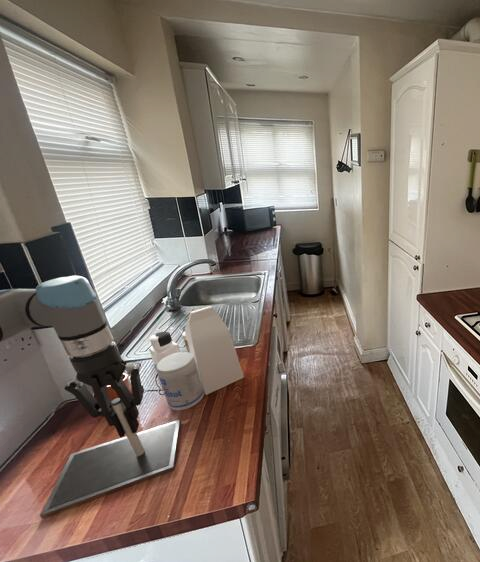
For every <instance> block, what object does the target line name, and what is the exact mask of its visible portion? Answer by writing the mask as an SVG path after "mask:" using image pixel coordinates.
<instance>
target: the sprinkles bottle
mask: <svg viewBox="0 0 480 562" xmlns="http://www.w3.org/2000/svg"><path fill="white" fill-rule="evenodd" d="M181 338H182V340H183V341H184V344H185V348H186V352H189V353H190V349H189V345H188V341H187V337H186V333H185V331H183V332H182V333H181Z"/></svg>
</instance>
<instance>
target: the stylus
mask: <svg viewBox="0 0 480 562" xmlns="http://www.w3.org/2000/svg"><path fill="white" fill-rule="evenodd" d="M111 404H112V406H113V408H112V409H114V410H115V412H116V415H117V417H118V419H119V421H120V423H121V425H122V427H123V429H124V431H125V437H126V436H127V438H128V440H129V442H130V444H131V446H132V448H133V450H134V452H135V455H136V456H140V455H142V454H143V453H144V448H143V446H142V444H141V442H140V440H139V437H138V435H137V433H138V432H136V433H132V431H131V429H130V426H129V424H128V422H127V420H126V418H125V416H124V413H123V412H124V410H125V406H124V405H123V403H122V401H121V400H120V398H116V399H114V400H112V401H111Z"/></svg>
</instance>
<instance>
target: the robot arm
mask: <svg viewBox="0 0 480 562" xmlns="http://www.w3.org/2000/svg"><path fill="white" fill-rule="evenodd" d="M93 289H94V288H93V287H92V286H91V283H90V281H89V280H88V279H87V278H86V277H84V276H81V275H68V276H61V277H57V278H52V279H49V280H46V281H43V282H41V283H39V284H38V285H36V287H35V288H20V287H18V288H8V289H0V343H2V342H3V341H6V340H8V339H10V338H12V337H14V336H16V335H18V334H20V333H22V332H24V331H27V330H29V329H31V328H40V327H41V328H43V327H44V328H45V327H46V328H48V327H52V328H53V330H54V332H55V333H56V335H57V338H58V339H59V341H60V343H61V345H62V347H63V350H64V351H65V353H66V356H68V357H69V358H68V360H69V361H70V364H71V365H72V368H73V369H74V371H75V373H76V376H75V378H70V379H69V381H68V382H67V383H66V385H65V386H64V390H65V391H66V392H68V393H70V394H72V395H73V396H74V397H75V398H76V400H77V401H78V402H79V403H80V405H81V406H82V407H83V408H84V409H85V410H86V412H87V413H88V414H89V415H90V416H91V417H92V418H94V419H95V418H98V417H103V418H105V420H106V422H107V425H108V426H109V427H113V426H114V427H115V430H116V432H117V434H118V437H119V438H123V437H125V436H126V434H125V431H124V429H123V427H122V425H121V423H120V421H119V419H118V417H117V415H116V412H115V410H114V408H113V406H112V404H111V400H110V397H109V394H108V390H107V387H106V385H110V386H111V388H112V389H114V390H115V392H116V393H117V395H118V397H119V398H120V400H121V401H122V403H123V405H124V407H125V410H124V412H123V413H124V416H125V418H126V420H127V422H128V424H129V426H130V429H131V431H132V433H138V429H139V427H140V423H139V420H138V417H139V415H140V411H139V408H138V407H137V406H140V405H141V404H142V401H143V398H144V394H143V393H144V392H143V387H142V381H141V375H140V370H141V367H142V363H140V362H136V363H135V364H129V363H128V364H127V362H126V361H125V360H124V359H123V358H122V356H121V354H120V351H119V348H118V346H117V343H116V342H115V341H114V337H113V334H112V332H111V330H110V327H109V325H108V323H107V321H106V318H105V315H104V313H103V311H102V308H101V305H100V302H99V300H98V298H97V294H96V292H95V291H94V290H93ZM125 371H126V372H127V373H126V374H127V375H128V377H129V376H130V378H129V380H130V383H131V387H132V393H133V395H131V393H130V391H129V390H128V388H127V386H126V384H125V383H124V381H123V377H122V374H123V373H125ZM86 385H88V386H90V387H91V388H92V391H93V394H95V397H94V395H93V394H92V393H91V391H90V390H89V388H88V387H87V386H86Z"/></svg>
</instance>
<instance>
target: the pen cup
mask: <svg viewBox="0 0 480 562" xmlns="http://www.w3.org/2000/svg"><path fill="white" fill-rule="evenodd" d="M122 377H123V381H124V383H125V384H126V386H127V388H128V390H129V391H130V393H131V395H132V396H133V393H132V387H131V381H130V378H129V375H128V373H125V372H123V374H122ZM106 387H107V390H108V394H109V397H110V400H111V401H112V400H114V399H116V398H119V397H118V395H117V393H116V392H115V390H114V389H112V388H111V386H110V385H106Z"/></svg>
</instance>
